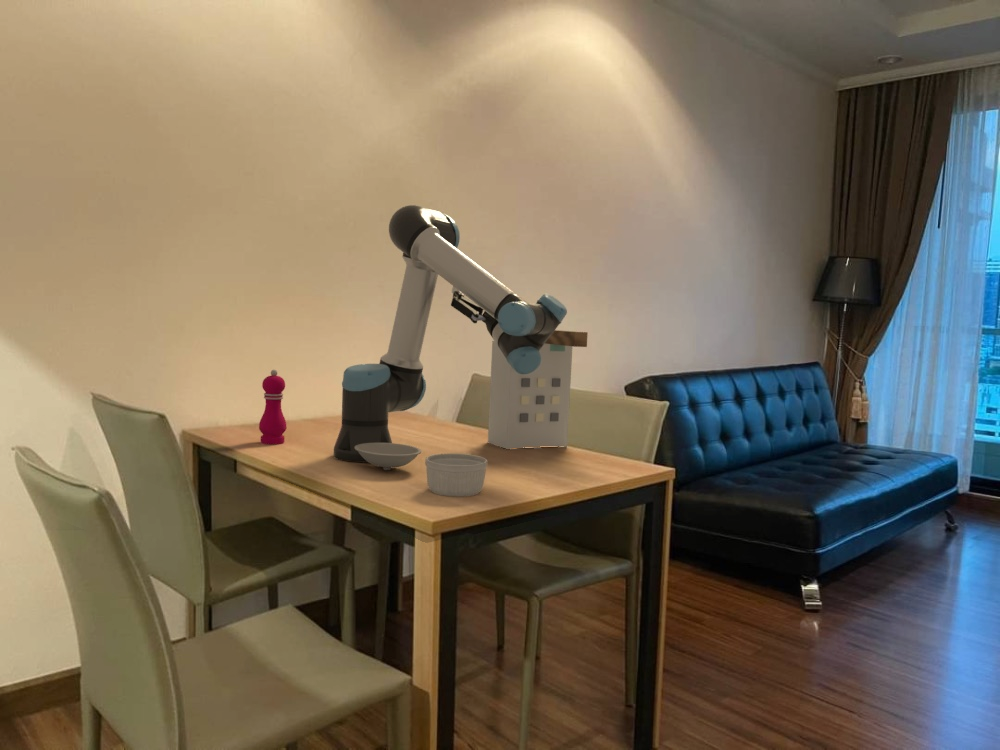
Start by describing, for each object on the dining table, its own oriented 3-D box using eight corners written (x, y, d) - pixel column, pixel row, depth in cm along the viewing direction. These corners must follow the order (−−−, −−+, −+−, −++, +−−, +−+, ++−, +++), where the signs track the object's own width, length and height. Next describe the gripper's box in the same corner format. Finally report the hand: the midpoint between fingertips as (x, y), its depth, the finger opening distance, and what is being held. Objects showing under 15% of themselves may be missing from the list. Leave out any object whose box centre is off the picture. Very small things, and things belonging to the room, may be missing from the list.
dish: (434, 472, 183) (435, 451, 183) (387, 479, 173) (388, 457, 172) (387, 460, 195) (387, 440, 195) (339, 466, 185) (340, 445, 184)
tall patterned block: (568, 447, 227) (573, 344, 224) (507, 450, 218) (512, 343, 215) (546, 440, 238) (551, 342, 236) (487, 442, 229) (492, 340, 227)
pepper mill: (290, 441, 215) (291, 369, 214) (280, 445, 208) (282, 371, 207) (264, 439, 216) (266, 368, 215) (254, 443, 209) (255, 369, 207)
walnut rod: (586, 346, 213) (587, 332, 213) (574, 346, 211) (575, 331, 211) (530, 340, 241) (530, 328, 241) (518, 340, 239) (519, 327, 239)
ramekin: (471, 501, 157) (472, 467, 156) (412, 493, 162) (414, 460, 161) (495, 489, 169) (496, 457, 169) (440, 481, 174) (441, 450, 173)
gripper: (551, 319, 203) (520, 279, 218) (464, 315, 191) (437, 273, 207) (542, 343, 207) (512, 302, 222) (456, 341, 195) (431, 298, 211)
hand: (476, 288), depth 215 cm, fingers open, 13 cm apart
